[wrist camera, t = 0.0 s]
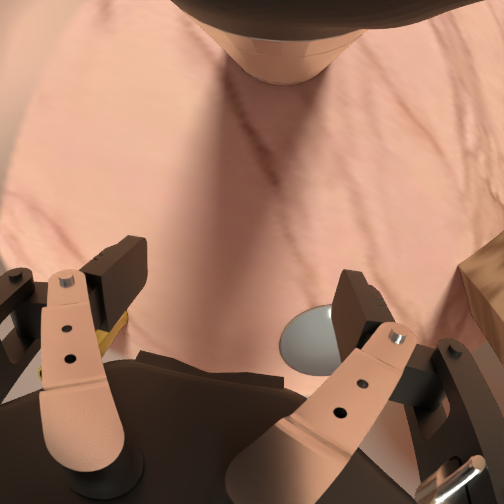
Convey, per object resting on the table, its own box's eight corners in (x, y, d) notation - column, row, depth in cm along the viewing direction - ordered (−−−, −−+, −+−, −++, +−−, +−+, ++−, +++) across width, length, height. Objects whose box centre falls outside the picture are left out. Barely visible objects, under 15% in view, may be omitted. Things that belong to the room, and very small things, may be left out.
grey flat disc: (291, 297, 33) (291, 301, 32) (388, 310, 33) (389, 313, 32) (272, 368, 38) (272, 371, 38) (355, 375, 38) (356, 378, 38)
